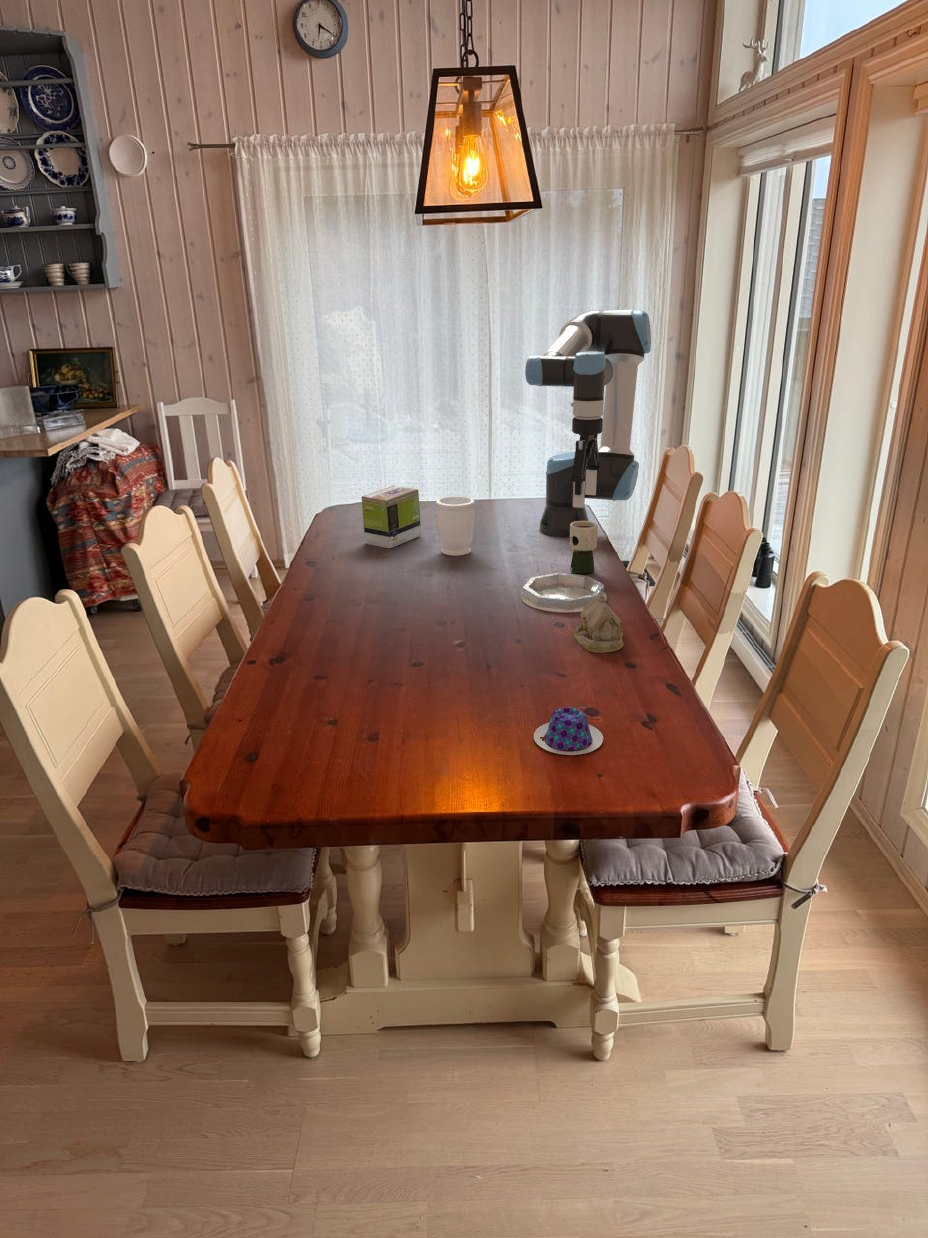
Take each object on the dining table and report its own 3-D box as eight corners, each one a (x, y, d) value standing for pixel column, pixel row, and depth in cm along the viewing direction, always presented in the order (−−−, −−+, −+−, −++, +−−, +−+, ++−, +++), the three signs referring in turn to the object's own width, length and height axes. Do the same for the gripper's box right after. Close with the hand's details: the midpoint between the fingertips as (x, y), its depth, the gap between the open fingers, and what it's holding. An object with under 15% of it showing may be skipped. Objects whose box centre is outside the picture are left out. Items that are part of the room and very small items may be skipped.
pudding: (617, 745, 153) (619, 718, 151) (562, 766, 147) (563, 738, 145) (572, 717, 162) (573, 691, 160) (519, 736, 156) (520, 709, 154)
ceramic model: (568, 629, 200) (569, 587, 196) (617, 626, 201) (619, 584, 197) (583, 655, 187) (584, 610, 183) (635, 651, 188) (637, 607, 184)
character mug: (563, 566, 240) (564, 519, 235) (588, 564, 241) (589, 517, 236) (575, 579, 230) (577, 531, 225) (602, 577, 231) (604, 529, 226)
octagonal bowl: (534, 579, 231) (534, 568, 230) (614, 587, 224) (614, 576, 223) (509, 607, 213) (509, 595, 211) (596, 617, 206) (596, 605, 205)
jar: (476, 546, 257) (475, 496, 252) (473, 557, 248) (472, 505, 242) (439, 546, 258) (438, 495, 253) (435, 557, 249) (433, 505, 243)
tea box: (396, 531, 273) (394, 484, 267) (422, 536, 268) (420, 488, 262) (363, 544, 262) (360, 494, 256) (389, 549, 256) (387, 499, 251)
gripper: (584, 408, 232) (581, 488, 240) (560, 424, 211) (557, 511, 218) (612, 410, 230) (608, 490, 238) (591, 425, 208) (587, 513, 216)
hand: (584, 500), depth 228 cm, fingers open, 13 cm apart
